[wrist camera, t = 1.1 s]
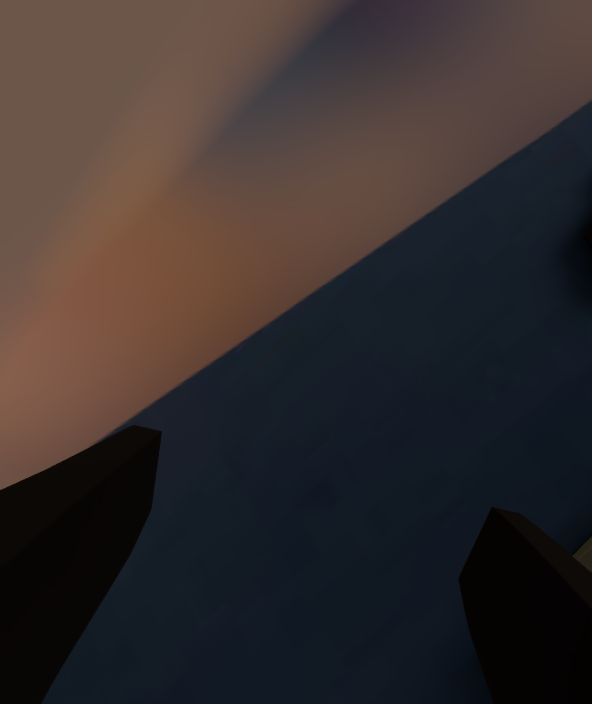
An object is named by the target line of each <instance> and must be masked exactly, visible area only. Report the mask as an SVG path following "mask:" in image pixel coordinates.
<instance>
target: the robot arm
mask: <svg viewBox="0 0 592 704" xmlns="http://www.w3.org/2000/svg"><path fill="white" fill-rule="evenodd" d="M161 434H162V431H158V430H153V429H149V428H145V427H140V426H136V425H133V426H130V427H128V428H126V429H124V430H122V431H120V432H118V433H116V434H114V435H113V436H111V437H109V438H107V439H105V440H103V441H101V442H99V443H97V444H95V445H93V446H91V447H90V448H88V449H86V450H84V451H82V452H80V453H78V454H76V455H74V456H72V457H70V458H68V459H66V460H64V461H62V462H60V463H58V464H56V465H54V466H52V467H50V468H48V469H46V470H44V471H42V472H40V473H37V474H35V475H33V476H31V477H28V478H26V479H24V480H22V481H20V482H18V483H15V484H13V485H11V486H9V487H6V488H4V489H2V490H0V704H41V703H42V701H43V699H44V697H45V696H46V694H47V692H48V690H49V688H50V687H51V685H52V683H53V681H54V680H55V678H56V676H57V674H58V673H59V671H60V669H61V667H62V666H63V664H64V662H65V661H66V659H67V658H68V656H69V654H70V653H71V651H72V649H73V648H74V646H75V645H76V643H77V641H78V640H79V638H80V636H81V635H82V633H83V631H84V630H85V628H86V627H87V625H88V623H89V622H90V620H91V618H92V617H93V615H94V614H95V612H96V610H97V609H98V607H99V605H100V604H101V602H102V600H103V599H104V597H105V596H106V594H107V592H108V591H109V589H110V587H111V586H112V584H113V582H114V581H115V579H116V577H117V576H118V574H119V572H120V571H121V569H122V568H123V566H124V564H125V563H126V561H127V559H128V557H129V556H130V554H131V552H132V550H133V548H134V546H135V544H136V542H137V539H138V537H139V535H140V533H141V531H142V529H143V527H144V524H145V522H146V520H147V518H148V516H149V513H150V511H151V508H152V501H153V494H154V486H155V479H156V471H157V464H158V456H159V449H160V442H161ZM458 579H459V584H460V590H461V595H462V600H463V605H464V610H465V614H466V619H467V623H468V627H469V631H470V634H471V637H472V640H473V644H474V647H475V650H476V653H477V656H478V659H479V662H480V665H481V668H482V671H483V674H484V677H485V679H486V682H487V685H488V688H489V691H490V694H491V697H492V700H493V703H494V704H592V572H590V571H589V570H588V569H587V568H586V567H585V566H583V565H582V564H581V563H580V562H579V561H578V560H576V559H575V558H574V557H573V556H572V555H571V554H569V553H568V552H567V551H566V550H565V549H564V548H562V547H561V546H560V545H559V544H558V543H557V542H555V541H554V540H553V539H552V538H551V537H549V536H548V535H547V534H546V533H545V532H543V531H542V530H541V529H540V528H538V527H537V526H536V525H535V524H533V523H532V522H531V521H529V520H528V519H527V518H525V517H524V516H523V515H521V514H520V513H516V512H511V511H507V510H503V509H498V508H494V507H492V508H491V510H490V512H489V514H488V516H487V519H486V521H485V523H484V525H483V527H482V529H481V531H480V533H479V536H478V538H477V540H476V542H475V544H474V546H473V548H472V550H471V553H470V555H469V557H468V559H467V561H466V563H465V565H464V567H463V570H462V572H461V574H460V576H459V578H458Z"/></svg>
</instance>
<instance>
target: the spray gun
mask: <svg viewBox="0 0 592 704" xmlns="http://www.w3.org/2000/svg"><path fill="white" fill-rule="evenodd" d="M585 236H586V237H587V238H588V240H589V241H590V243H591V244H592V225H591V226H590V228H589V229H588V230H587V232H586V233H585Z"/></svg>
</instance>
